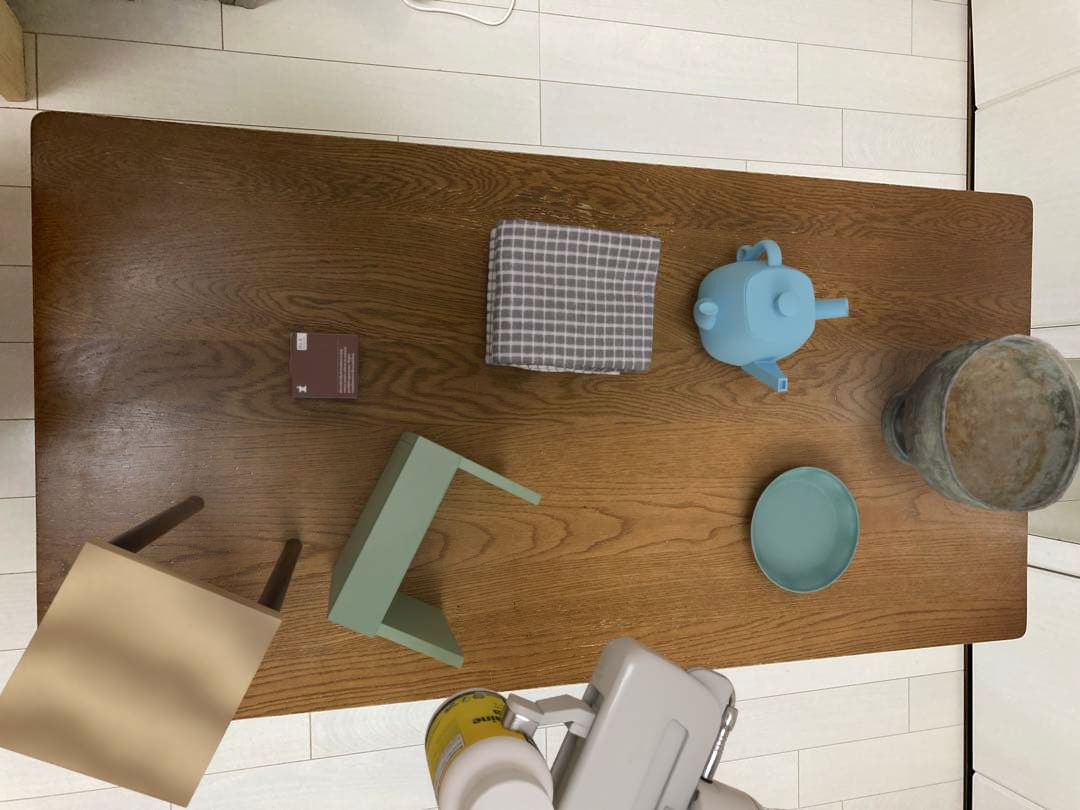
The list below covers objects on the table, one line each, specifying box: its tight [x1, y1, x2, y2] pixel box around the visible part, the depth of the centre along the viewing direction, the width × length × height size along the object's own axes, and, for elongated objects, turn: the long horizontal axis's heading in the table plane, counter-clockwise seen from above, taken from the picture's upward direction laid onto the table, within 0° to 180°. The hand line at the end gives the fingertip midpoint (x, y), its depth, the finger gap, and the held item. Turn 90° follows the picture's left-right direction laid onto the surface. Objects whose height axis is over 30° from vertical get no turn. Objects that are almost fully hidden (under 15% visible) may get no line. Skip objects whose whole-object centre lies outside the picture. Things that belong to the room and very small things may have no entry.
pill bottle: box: [424, 687, 554, 810], centre depth 40 cm, size 6×6×11 cm
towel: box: [484, 218, 662, 376], centre depth 74 cm, size 15×18×8 cm
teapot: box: [693, 239, 850, 392], centre depth 78 cm, size 15×14×11 cm
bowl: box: [881, 333, 1080, 513], centre depth 82 cm, size 20×19×15 cm
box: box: [289, 331, 360, 402], centre depth 68 cm, size 6×6×7 cm
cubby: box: [326, 430, 543, 669], centre depth 66 cm, size 16×12×16 cm
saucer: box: [750, 466, 861, 594], centre depth 84 cm, size 15×15×3 cm
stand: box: [0, 537, 285, 809], centre depth 42 cm, size 12×12×2 cm
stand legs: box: [106, 495, 303, 612], centre depth 56 cm, size 12×12×26 cm
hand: (475, 774), depth 39 cm, fingers closed on pill bottle, 6 cm apart
